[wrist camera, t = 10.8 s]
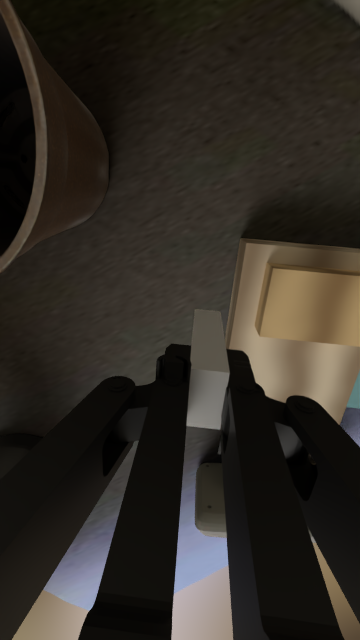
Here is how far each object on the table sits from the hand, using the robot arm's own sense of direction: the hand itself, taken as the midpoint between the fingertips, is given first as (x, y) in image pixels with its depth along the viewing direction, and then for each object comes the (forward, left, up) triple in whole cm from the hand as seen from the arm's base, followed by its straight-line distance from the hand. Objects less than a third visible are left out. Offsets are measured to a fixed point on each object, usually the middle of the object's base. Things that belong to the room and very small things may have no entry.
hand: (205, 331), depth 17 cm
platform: (+10, -5, -14) cm, 18 cm away
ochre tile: (+10, 0, -10) cm, 14 cm away
